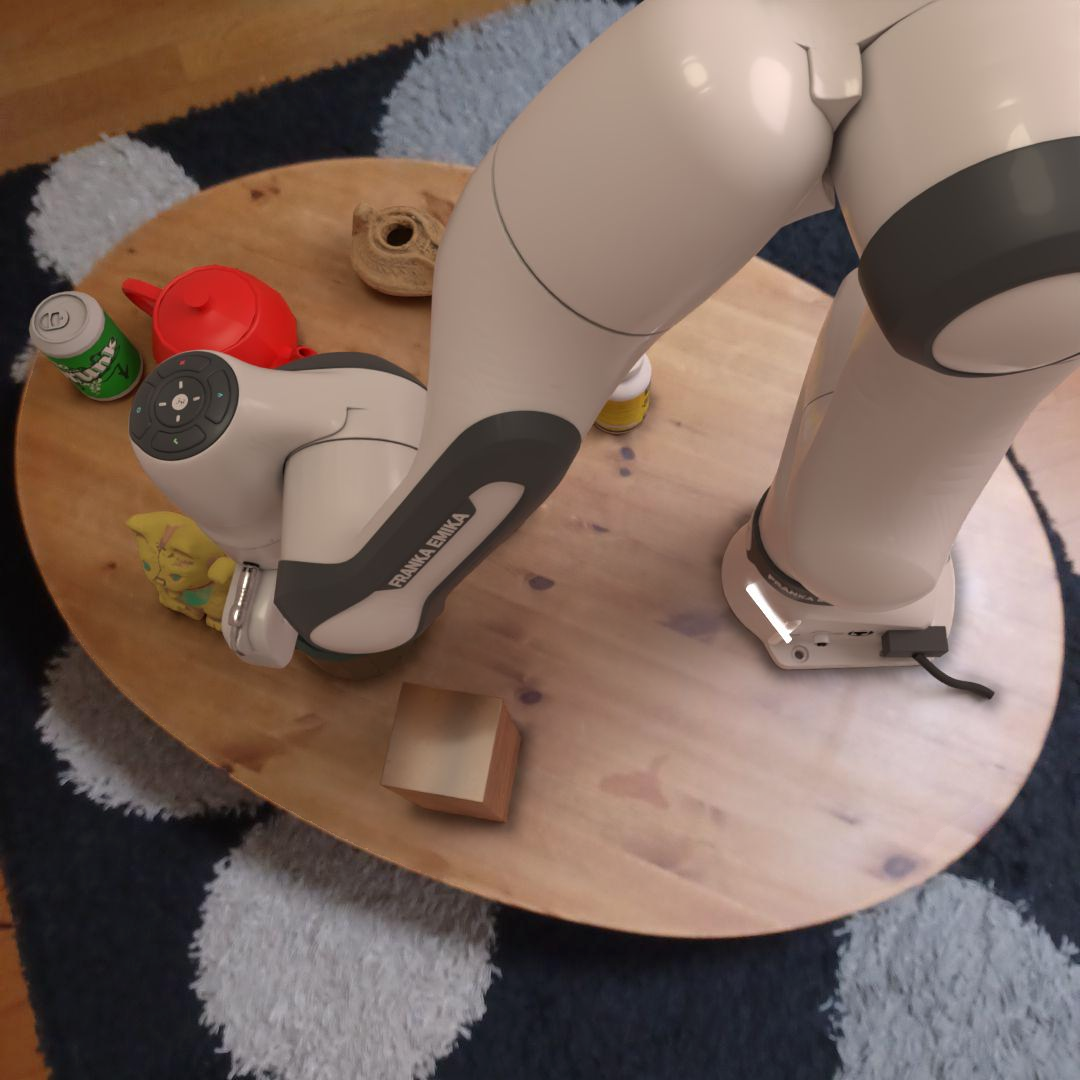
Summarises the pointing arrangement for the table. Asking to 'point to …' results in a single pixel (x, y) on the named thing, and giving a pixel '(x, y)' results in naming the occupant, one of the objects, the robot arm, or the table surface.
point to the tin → (354, 660)
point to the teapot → (219, 317)
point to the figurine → (183, 564)
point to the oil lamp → (395, 249)
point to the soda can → (86, 345)
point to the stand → (452, 752)
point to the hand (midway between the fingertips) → (315, 565)
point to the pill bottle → (628, 400)
